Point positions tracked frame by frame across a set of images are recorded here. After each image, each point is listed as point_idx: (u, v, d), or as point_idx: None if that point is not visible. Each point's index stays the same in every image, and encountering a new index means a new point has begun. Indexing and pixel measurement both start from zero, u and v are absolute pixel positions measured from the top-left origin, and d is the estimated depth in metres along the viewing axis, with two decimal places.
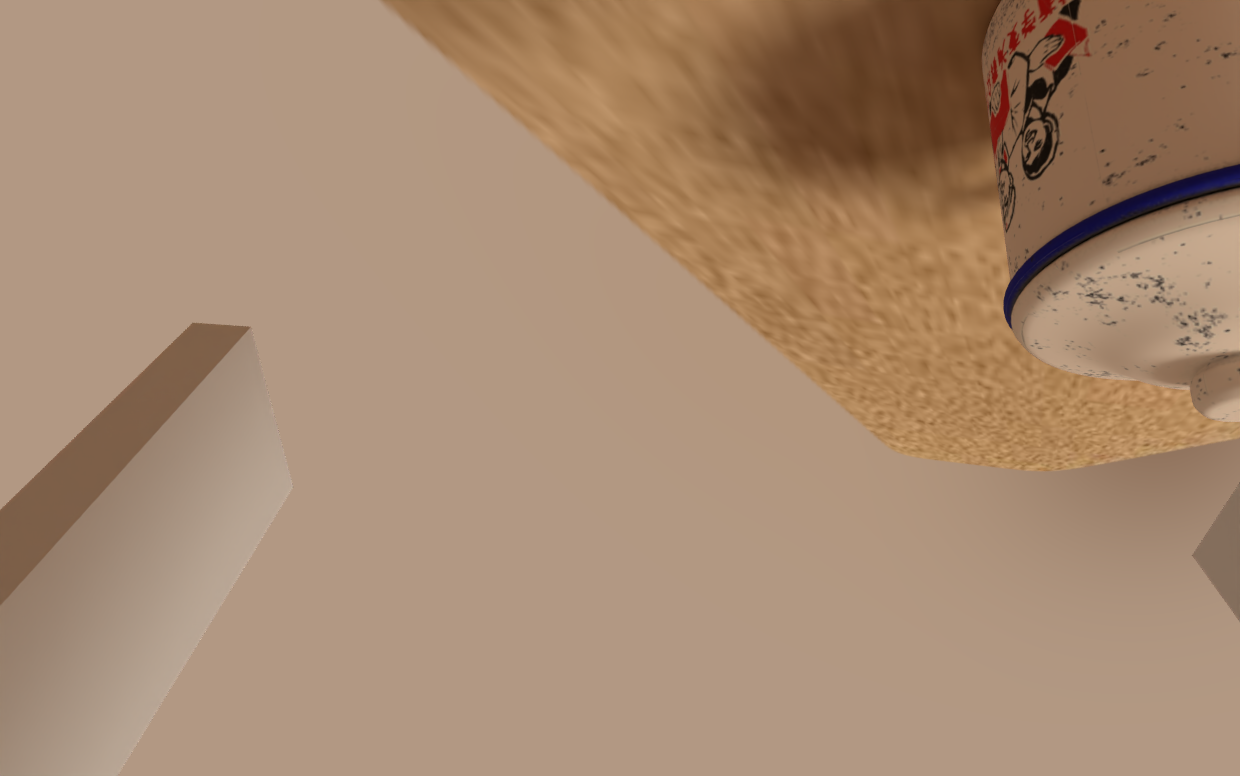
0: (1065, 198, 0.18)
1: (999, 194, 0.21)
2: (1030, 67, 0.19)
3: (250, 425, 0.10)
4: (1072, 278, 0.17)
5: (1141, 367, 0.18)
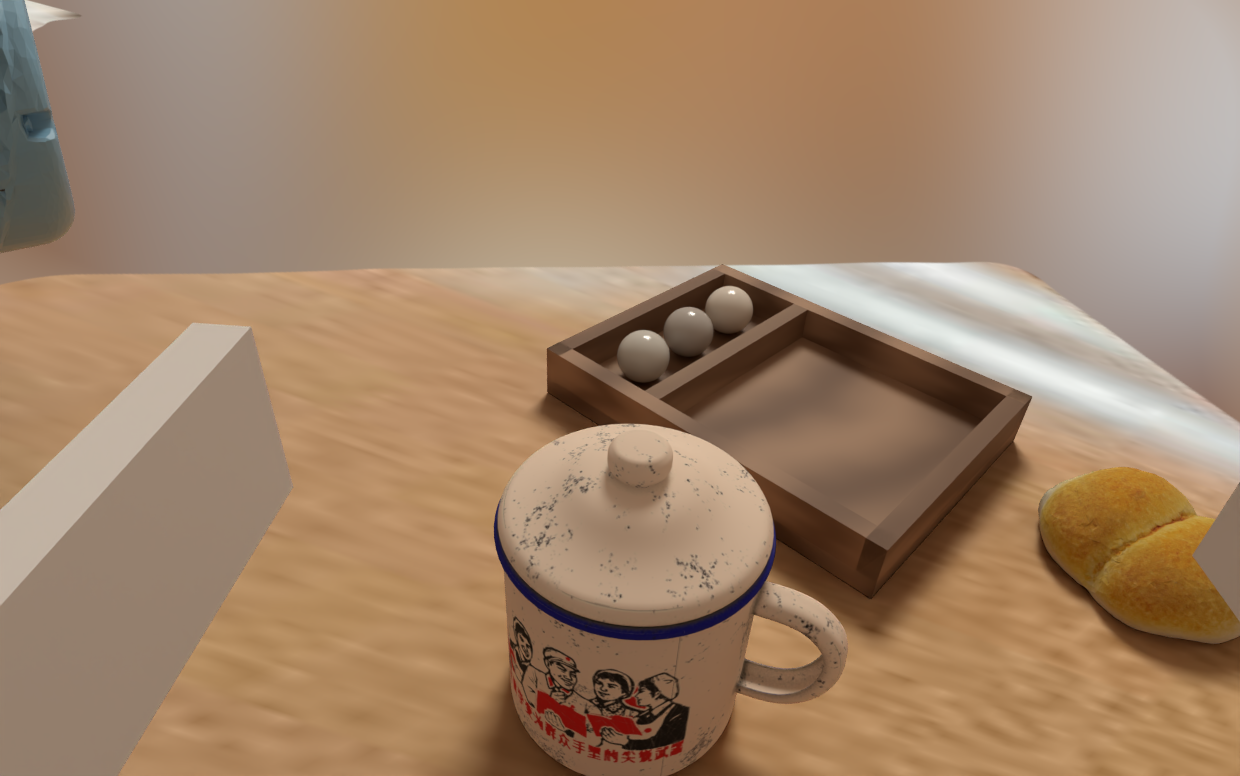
0: (513, 589, 0.24)
1: (583, 692, 0.24)
2: (521, 677, 0.27)
3: (250, 425, 0.10)
4: (519, 552, 0.23)
5: (618, 514, 0.23)
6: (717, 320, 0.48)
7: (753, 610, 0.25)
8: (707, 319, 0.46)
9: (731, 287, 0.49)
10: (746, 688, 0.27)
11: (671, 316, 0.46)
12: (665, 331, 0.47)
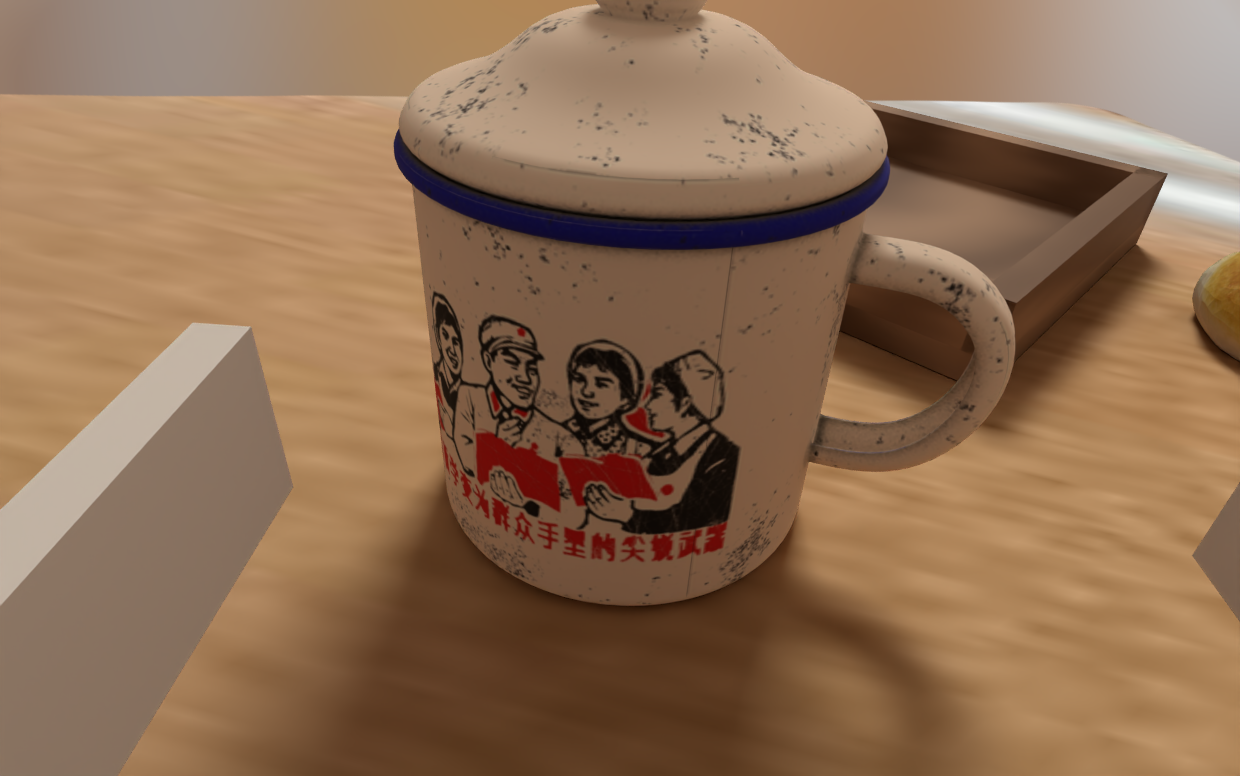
0: (425, 229, 0.14)
1: (552, 408, 0.13)
2: (452, 426, 0.16)
3: (250, 425, 0.10)
4: (429, 126, 0.12)
5: (612, 45, 0.12)
6: None
7: (852, 272, 0.14)
8: None
9: None
10: (828, 448, 0.16)
11: None
12: None
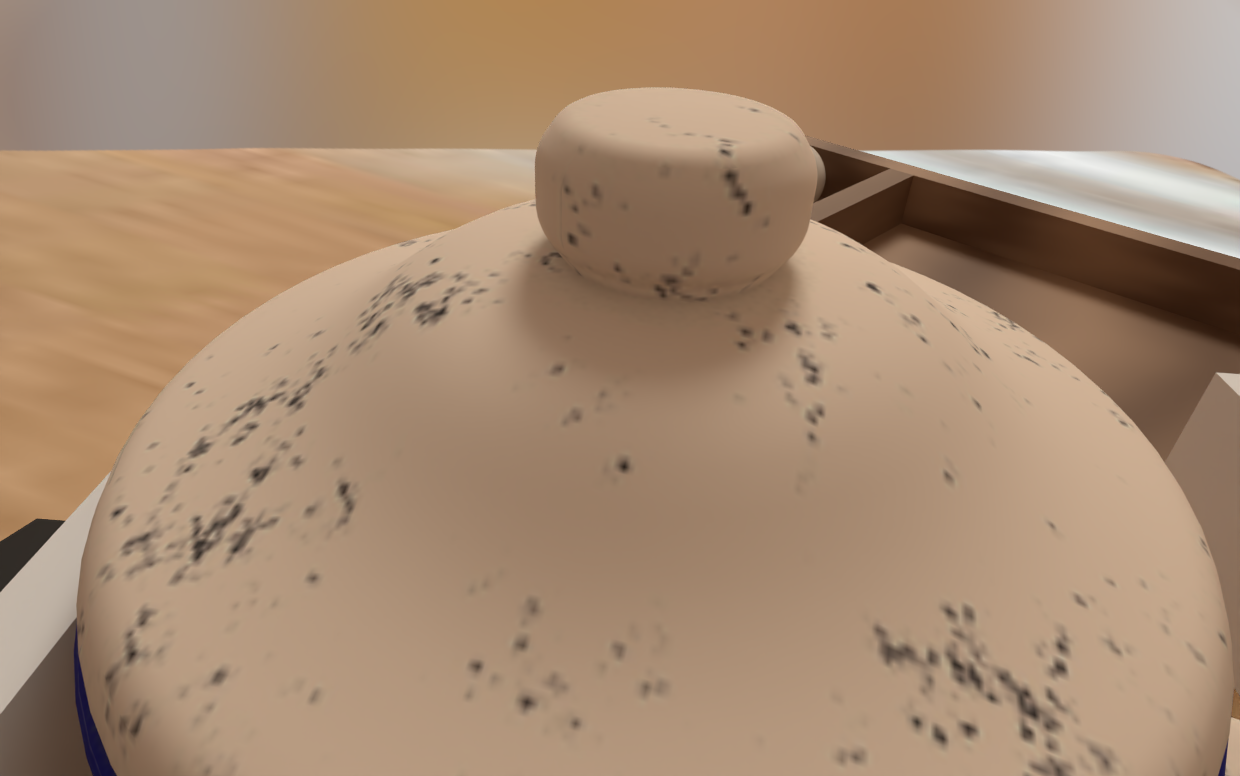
0: None
1: None
2: None
3: None
4: (108, 591, 0.05)
5: (574, 403, 0.05)
6: None
7: None
8: None
9: None
10: None
11: None
12: None
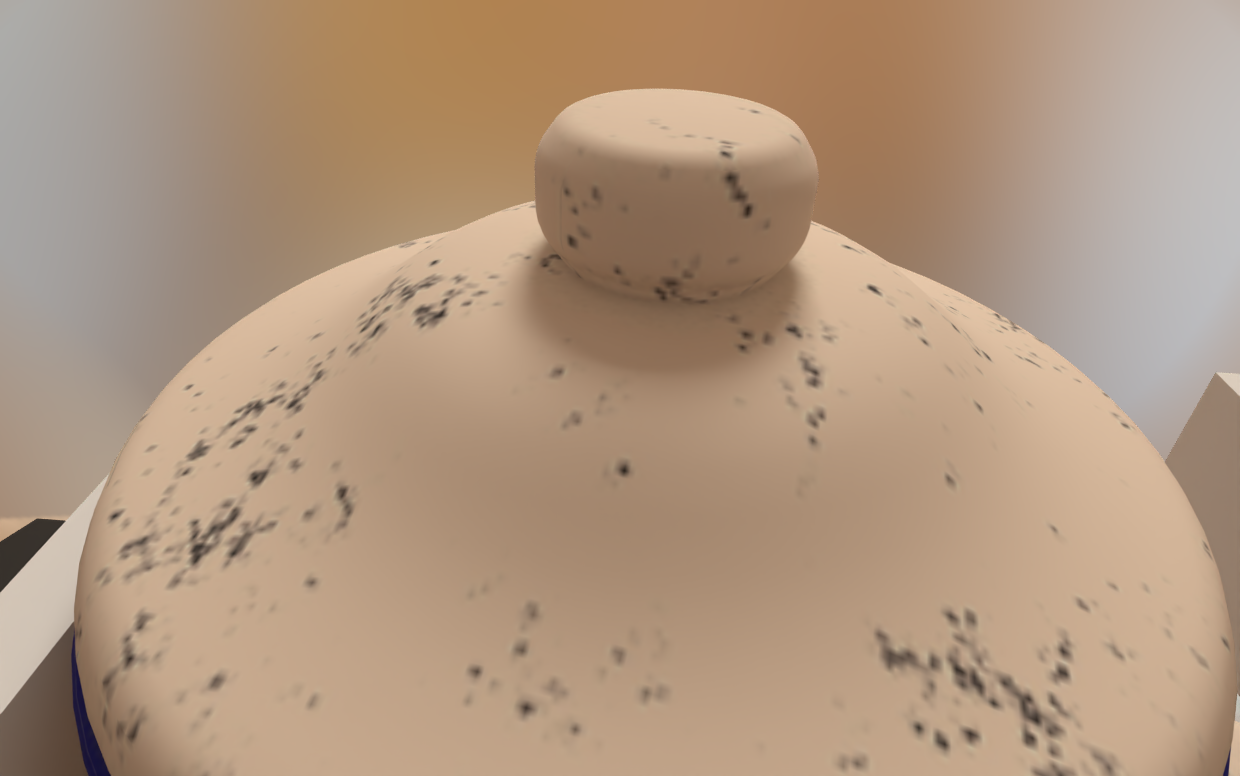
0: None
1: None
2: None
3: None
4: (106, 595, 0.05)
5: (574, 406, 0.05)
6: None
7: None
8: None
9: None
10: None
11: None
12: None
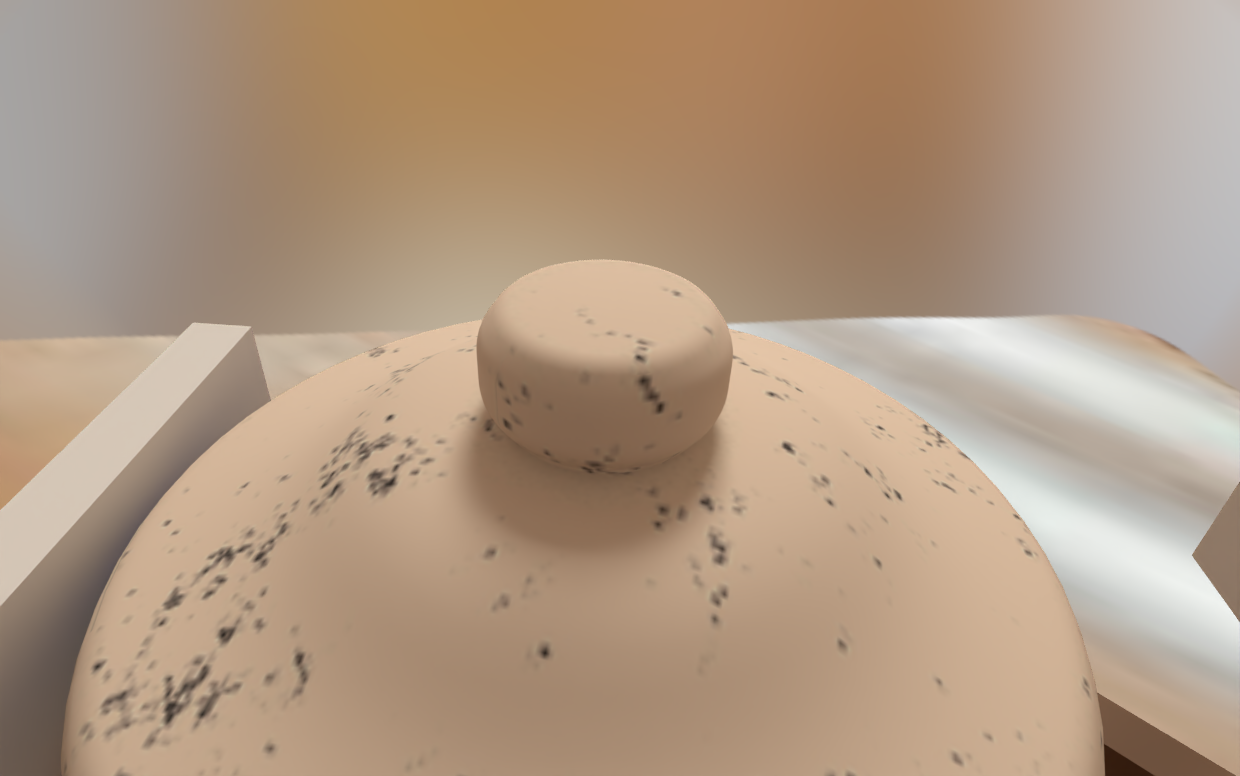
0: None
1: None
2: None
3: None
4: (89, 750, 0.05)
5: (502, 589, 0.05)
6: None
7: None
8: None
9: None
10: None
11: None
12: None
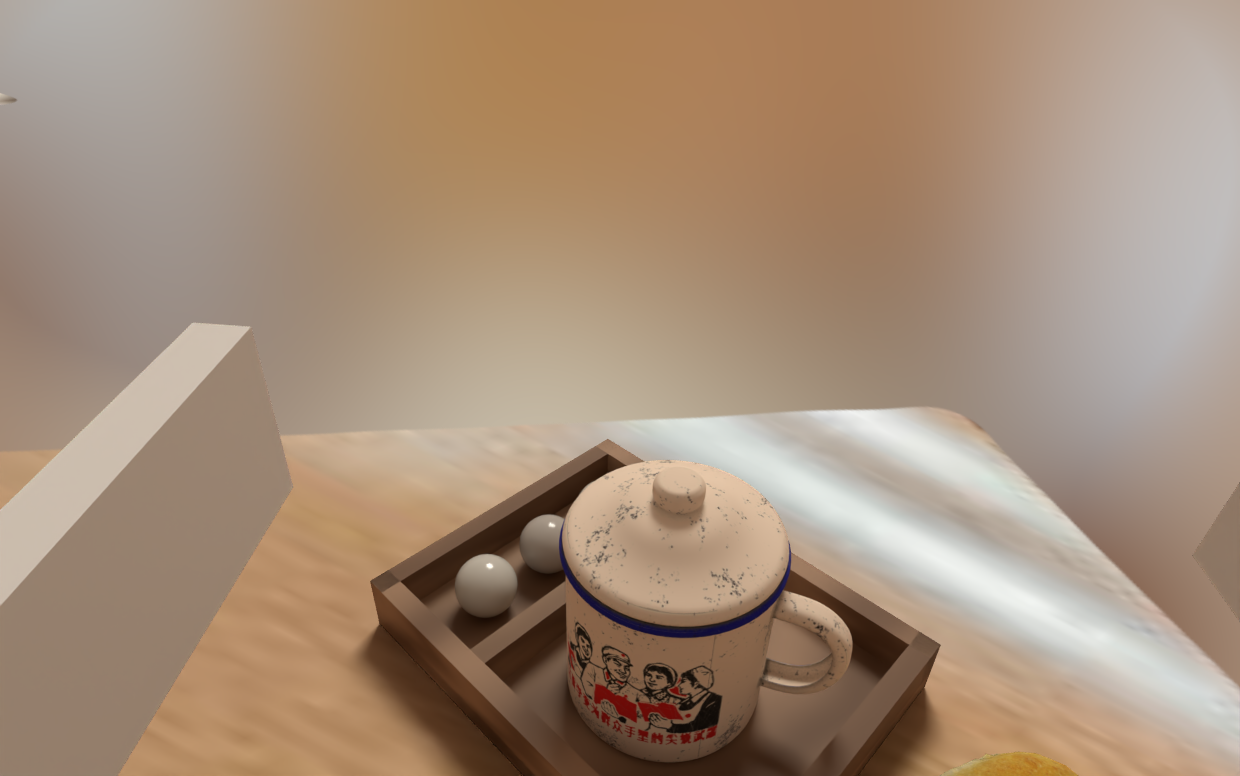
0: (576, 599, 0.30)
1: (635, 683, 0.29)
2: (581, 674, 0.32)
3: (250, 425, 0.10)
4: (583, 568, 0.29)
5: (663, 536, 0.28)
6: None
7: (773, 614, 0.30)
8: None
9: None
10: (768, 682, 0.32)
11: (526, 528, 0.40)
12: (520, 546, 0.40)
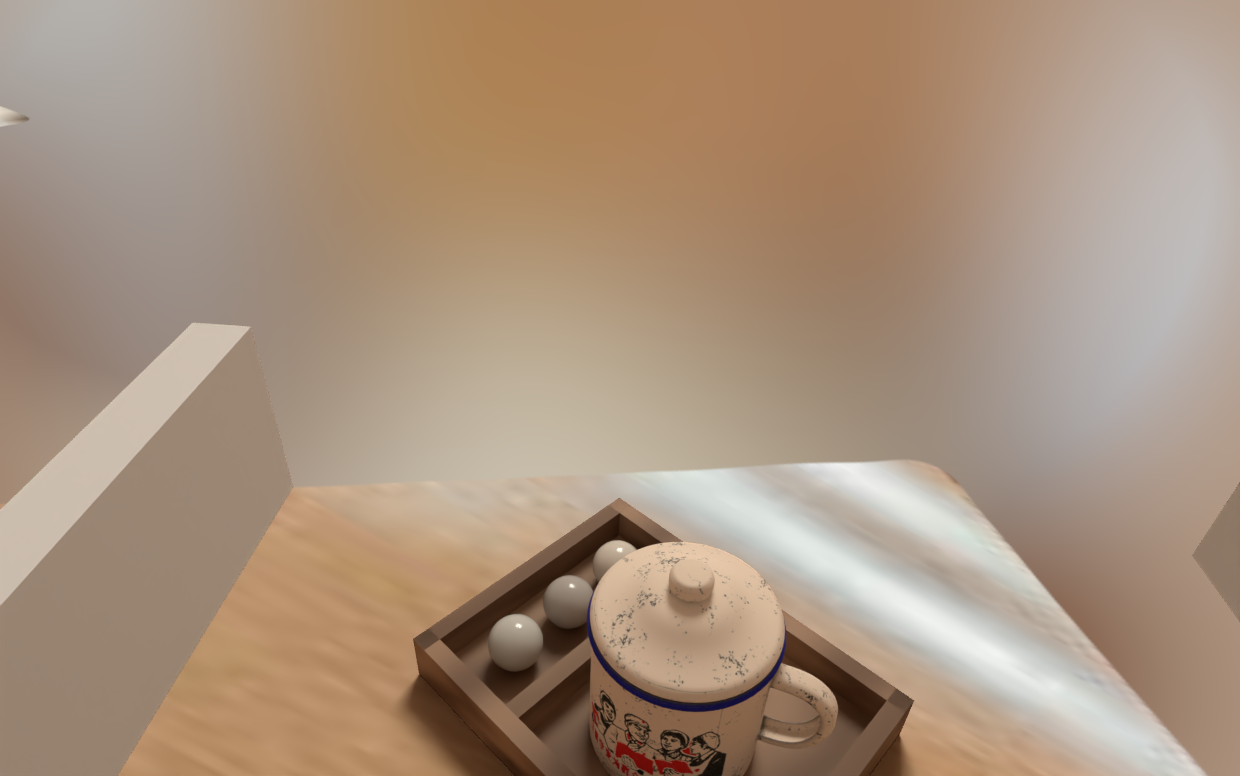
0: (602, 672, 0.35)
1: (653, 744, 0.34)
2: (604, 731, 0.37)
3: (250, 425, 0.10)
4: (610, 649, 0.34)
5: (678, 623, 0.33)
6: None
7: (771, 685, 0.35)
8: (586, 593, 0.44)
9: (618, 545, 0.47)
10: (765, 737, 0.37)
11: (550, 589, 0.45)
12: (544, 604, 0.45)
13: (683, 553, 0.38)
